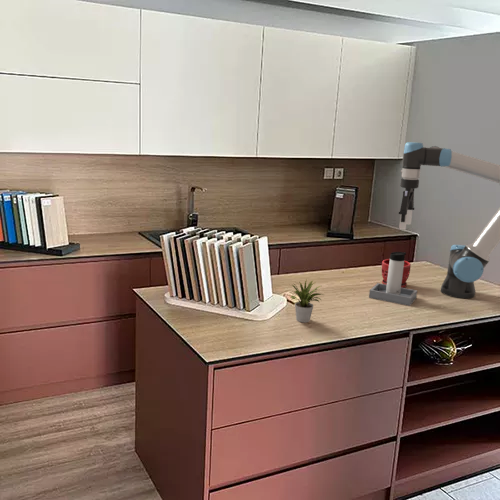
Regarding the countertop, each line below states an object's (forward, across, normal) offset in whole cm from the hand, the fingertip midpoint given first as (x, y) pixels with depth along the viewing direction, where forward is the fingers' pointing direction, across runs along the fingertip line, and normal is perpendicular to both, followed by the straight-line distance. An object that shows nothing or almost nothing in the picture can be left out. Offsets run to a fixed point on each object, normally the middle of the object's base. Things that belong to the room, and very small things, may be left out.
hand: (405, 226), depth 248 cm
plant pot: (+32, -12, -4) cm, 34 cm away
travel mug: (+31, +6, -1) cm, 31 cm away
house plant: (+31, +56, -27) cm, 69 cm away
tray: (+31, +6, -1) cm, 32 cm away
